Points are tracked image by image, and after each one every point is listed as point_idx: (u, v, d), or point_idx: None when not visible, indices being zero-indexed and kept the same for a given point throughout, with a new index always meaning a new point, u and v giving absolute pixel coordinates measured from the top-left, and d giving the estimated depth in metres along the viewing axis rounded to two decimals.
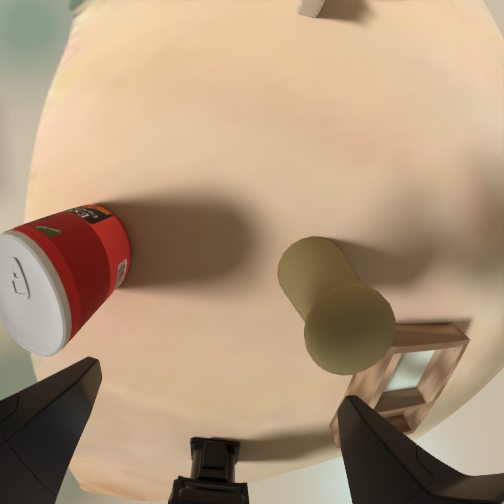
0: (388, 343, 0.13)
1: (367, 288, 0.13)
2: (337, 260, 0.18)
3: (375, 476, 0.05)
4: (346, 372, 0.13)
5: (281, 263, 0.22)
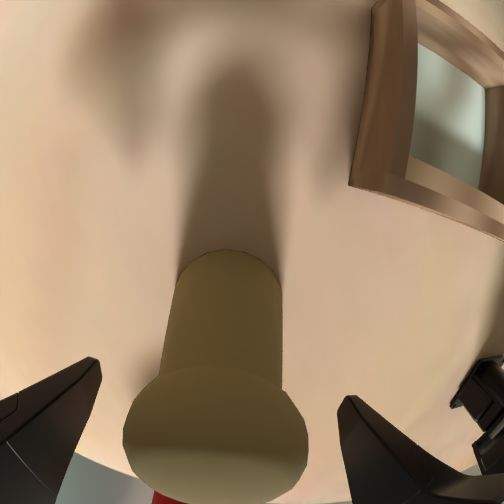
0: (211, 461, 0.04)
1: None
2: None
3: (375, 476, 0.05)
4: (278, 495, 0.05)
5: None
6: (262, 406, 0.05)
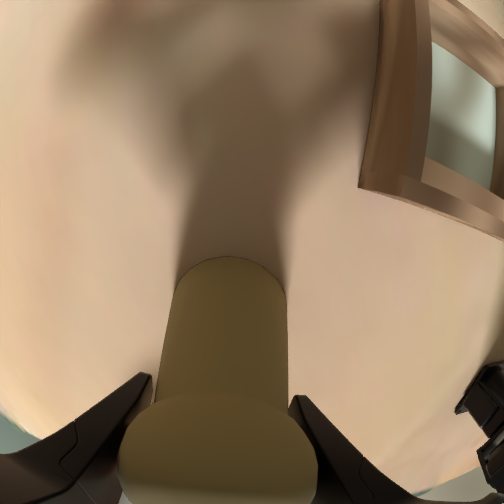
0: (213, 501, 0.03)
1: None
2: (162, 350, 0.10)
3: None
4: None
5: None
6: (269, 441, 0.04)
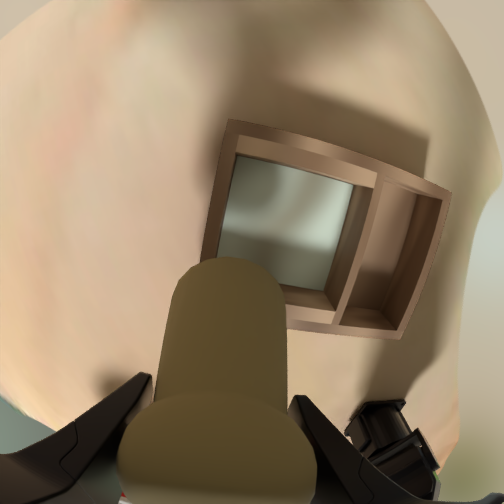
0: (211, 501, 0.03)
1: None
2: None
3: None
4: None
5: None
6: (268, 441, 0.04)
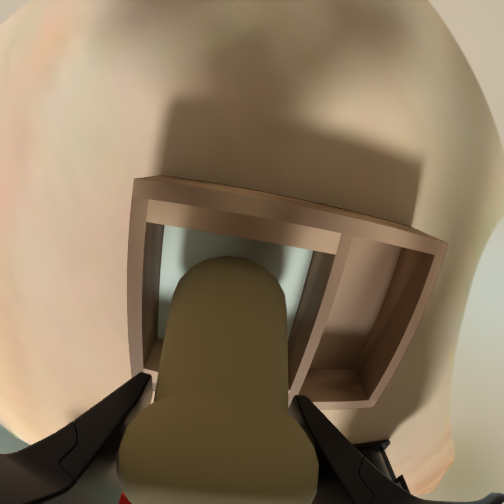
0: (213, 501, 0.03)
1: None
2: (162, 349, 0.10)
3: None
4: None
5: None
6: (270, 441, 0.04)
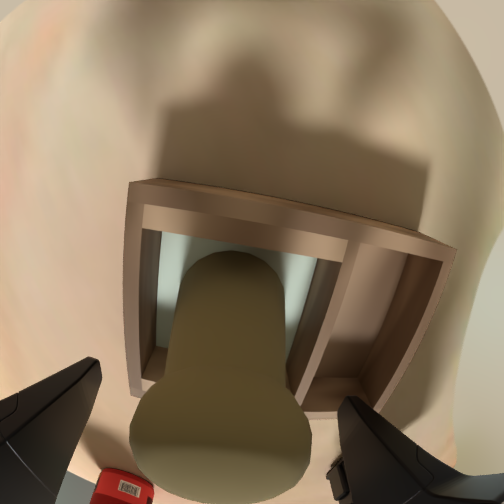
0: (220, 458, 0.04)
1: None
2: (171, 334, 0.11)
3: (375, 476, 0.05)
4: (281, 492, 0.05)
5: None
6: (270, 404, 0.06)
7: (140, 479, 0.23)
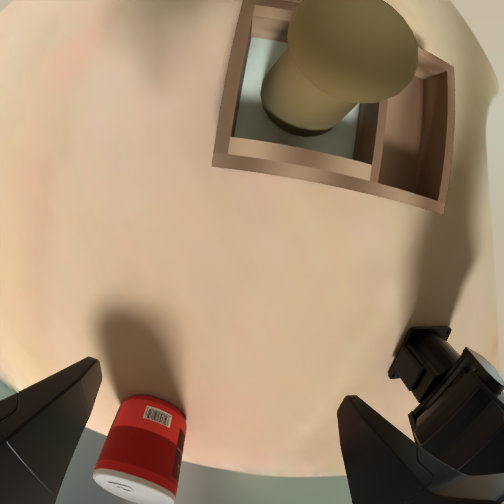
0: None
1: (290, 19, 0.07)
2: (277, 63, 0.12)
3: (375, 476, 0.05)
4: (412, 51, 0.06)
5: (290, 131, 0.17)
6: None
7: (171, 406, 0.25)
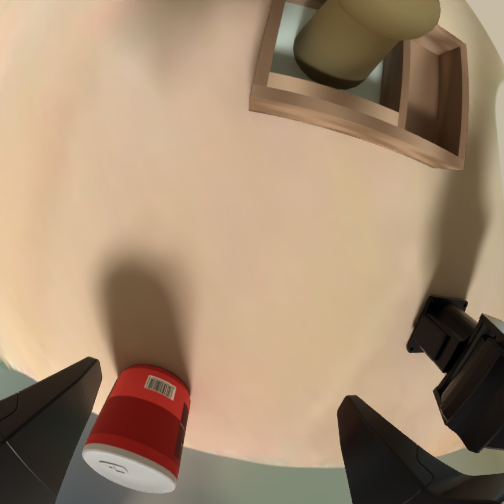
0: None
1: None
2: (315, 15, 0.11)
3: (375, 476, 0.05)
4: (435, 1, 0.05)
5: (321, 81, 0.16)
6: None
7: (175, 377, 0.24)
